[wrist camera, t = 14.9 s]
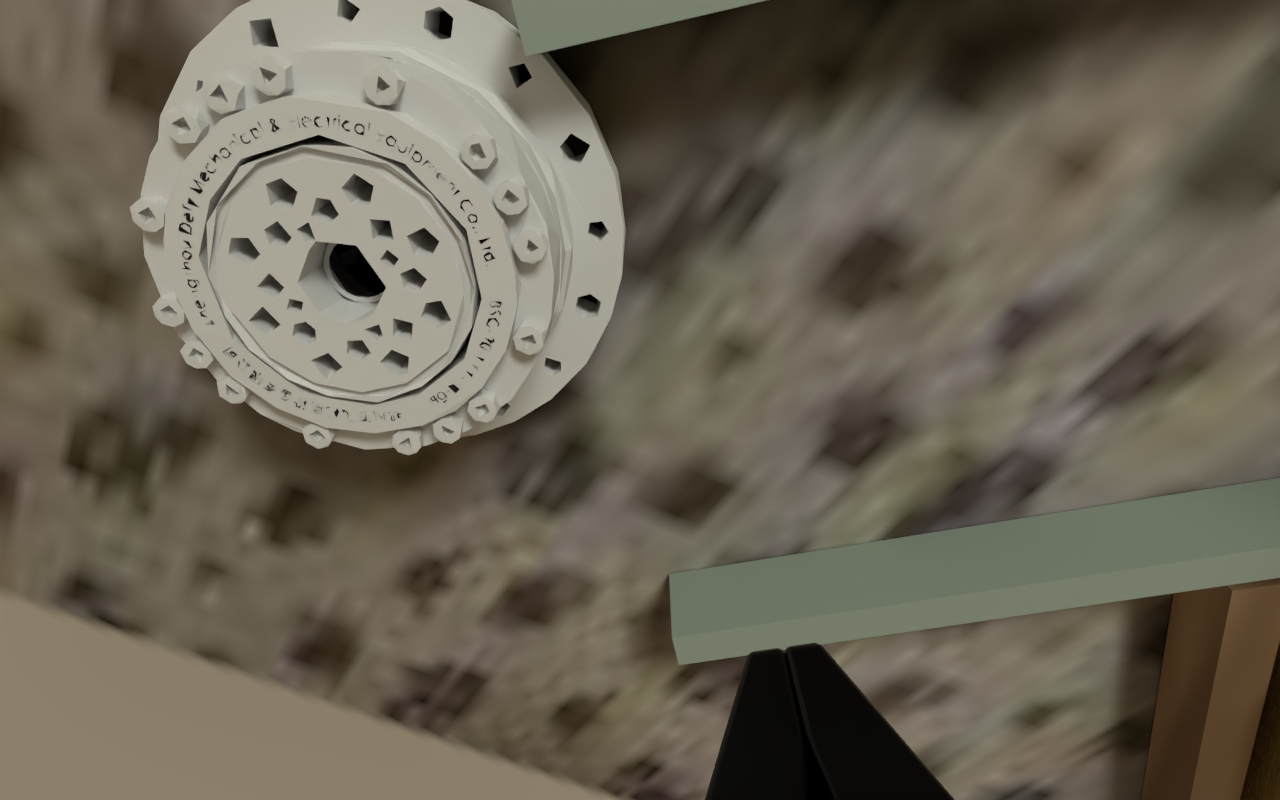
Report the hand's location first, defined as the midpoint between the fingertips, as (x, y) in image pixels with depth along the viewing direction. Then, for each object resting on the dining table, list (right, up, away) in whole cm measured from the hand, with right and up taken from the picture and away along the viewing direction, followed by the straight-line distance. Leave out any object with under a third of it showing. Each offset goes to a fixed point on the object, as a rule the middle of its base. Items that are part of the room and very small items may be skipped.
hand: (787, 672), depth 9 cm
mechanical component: (-7, +7, +9) cm, 13 cm away
